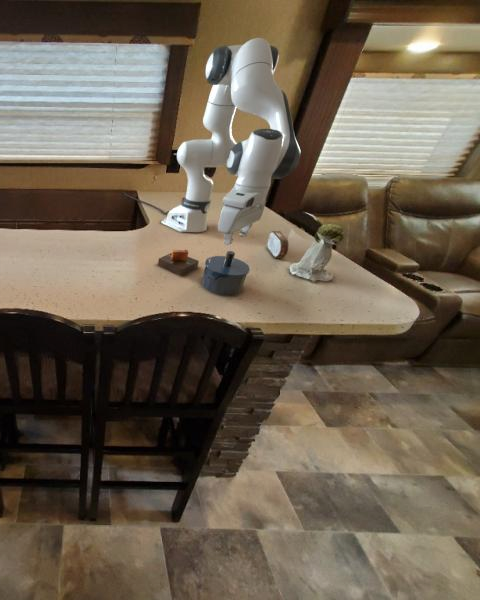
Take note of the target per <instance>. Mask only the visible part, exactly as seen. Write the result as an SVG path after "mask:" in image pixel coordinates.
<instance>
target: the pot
mask: <svg viewBox="0 0 480 600" xmlns="http://www.w3.org/2000/svg"><path fill="white" fill-rule="evenodd" d="M247 276H248V274H246V275H244V276H237V277H233V276H225V275H221V274H218V273H215V272H213V271H211V270H210V269H208V268H207V267H206V266H205V267H204V271H203V275H202V278H201V285H202V287H203V288H204V289H205V290H207V291H208V292H211V293H212V294H216V295H218V296H219V295H220V296H235V295H238V294H239V293H240V292H241V291H242V289H243V286H244V284H245V280H246V278H247Z"/></svg>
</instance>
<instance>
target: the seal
mask: <svg viewBox="0 0 480 600" xmlns="http://www.w3.org/2000/svg"><path fill="white" fill-rule="evenodd" d="M171 253H172V256H171V260H177V261H187V257H189V251H188V249H172V251H171Z"/></svg>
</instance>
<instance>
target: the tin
mask: <svg viewBox="0 0 480 600" xmlns="http://www.w3.org/2000/svg"><path fill="white" fill-rule="evenodd" d="M266 247H267V250H268V251H269V253H270V254H271V255H272V256H273V257H274V258H275V259H285V257H286V255H287V254H288V251H289V239H288V237H286V236H285V234H284V233H283V232H282V231H281V230H272V231H270V233H269V235H268V237H267V241H266Z"/></svg>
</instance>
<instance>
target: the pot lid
mask: <svg viewBox="0 0 480 600" xmlns="http://www.w3.org/2000/svg"><path fill="white" fill-rule="evenodd" d="M235 255H236V252H234V251H232V250H228V251H226V254H225V255H214V256H210V257H208V258H206V260H205V262H204V264H205V267H207V268H208V269H210V270H211V271H213V272H215V273H218V274H221V275H225V276H233V277H237V276H244V275H246V274H247V275H248V274H250V270H251V267H250V265H248V263H247V262H245V261H242V260H241V259H238V258H237V257H236V258H235ZM247 275H246V276H247Z"/></svg>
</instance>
